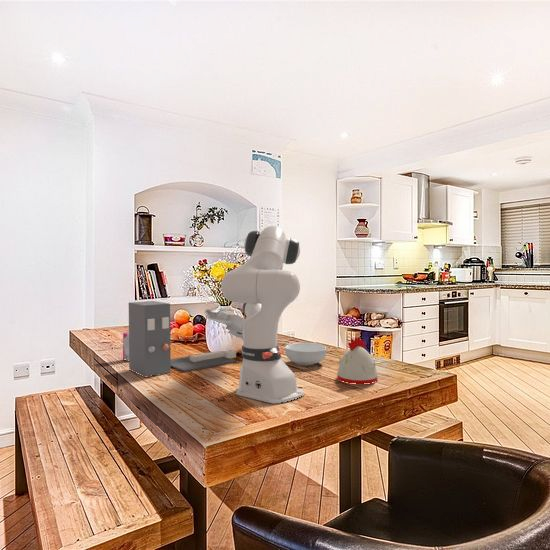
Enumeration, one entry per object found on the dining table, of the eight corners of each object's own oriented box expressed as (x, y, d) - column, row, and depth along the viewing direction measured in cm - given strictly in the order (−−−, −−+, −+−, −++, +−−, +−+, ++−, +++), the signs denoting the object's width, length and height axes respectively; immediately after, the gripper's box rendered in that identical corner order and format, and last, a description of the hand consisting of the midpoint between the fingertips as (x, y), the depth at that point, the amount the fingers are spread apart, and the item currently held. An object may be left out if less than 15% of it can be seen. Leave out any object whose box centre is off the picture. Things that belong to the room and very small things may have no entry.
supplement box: (142, 359, 178) (141, 332, 177) (129, 362, 173) (128, 334, 173) (135, 357, 182) (135, 331, 181) (122, 359, 177) (122, 333, 177)
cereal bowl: (276, 363, 170) (276, 346, 170) (302, 357, 183) (302, 341, 182) (309, 371, 159) (309, 352, 159) (334, 363, 171) (334, 346, 171)
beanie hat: (329, 378, 149) (329, 336, 149) (355, 372, 158) (356, 332, 157) (358, 387, 138) (358, 342, 138) (385, 380, 146) (385, 338, 146)
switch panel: (171, 373, 156) (171, 303, 155) (146, 378, 149) (145, 305, 148) (153, 365, 167) (153, 300, 166) (129, 370, 160) (128, 302, 159)
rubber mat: (235, 362, 173) (235, 360, 173) (184, 372, 157) (184, 370, 157) (209, 354, 188) (209, 352, 188) (159, 362, 172) (159, 360, 172)
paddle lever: (195, 357, 169) (195, 365, 169) (235, 350, 182) (235, 357, 182) (188, 355, 173) (188, 362, 173) (228, 348, 186) (228, 355, 186)
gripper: (224, 316, 193) (202, 303, 185) (252, 321, 178) (229, 306, 170) (218, 328, 192) (196, 316, 183) (246, 334, 176) (222, 320, 168)
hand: (212, 311), depth 177 cm, fingers open, 8 cm apart
